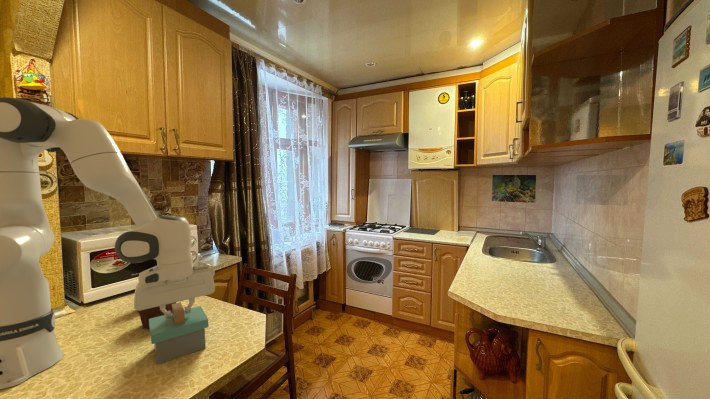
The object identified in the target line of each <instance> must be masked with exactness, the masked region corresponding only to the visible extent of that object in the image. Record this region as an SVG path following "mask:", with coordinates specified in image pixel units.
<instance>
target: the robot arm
mask: <svg viewBox="0 0 710 399" xmlns="http://www.w3.org/2000/svg"><path fill="white" fill-rule="evenodd" d="M45 151H47V152H49V153H55V152H58V151H63V153H64V154H65V156H66V158H67V160H68V162H69V164H70V166H71V168H72V169H73V170H72V171H73V172H74V174H75V175H76V177H77V178H78V179H79V181H80V182H81V183H82V184H83V185H84V186H85V187H86V188H87V189H89V190H92V191H95V192H97V193H101V194H104V195H107V196H109V197H111V198H113V199H115V200H116V201H118V202H120V203H121V204H122V206H124V208H125V210H126V212H128V215H129V216H130V217H131V220H132V221H133V223H134V224H135V226H136V228H132V229H131V230H128V231H125V232H123V233H121V234H120V235H119V236H118V237H117V239H116V240H115V242H114V251H115V252H114V253H115V254H116V256H117V257H118V258H119V259H120V261H123V262H125V263H127V264H139V263H143V262H147V261H150V260H155V261H156V264H157V265H155V266H153V267H150V268H148V269H145V270H143V271H141V272H140V273H139V275H138V277H137V280H138V283H137V284H136V286H135V290H134V299H133V309H134V310H136V312H137V311H141V310H145V309H149V308H153V307H158V306H159V307H160V310H161V311H162V312H163V313H164V315H165V319H169V318H171V312H170V311H166V309H165V308H166V304H170V303H175V302H176V303H179V302H182V301H186V300H188V301H189V302H188V304H187V305H186V306H184V310H185V314H188V313H191V308H193V306H194V304H195V300H196V298H199V297H200V298H201V297H203V296H204V297H205V296H208V295H212V294H214V292H215V291H216V285H215V281H214V280H215V279H214V277H215V275H216V274H215V273H216V272H215V267H214V266H213V265H210V264H204V265H196V266H194V264H193V263H194V262H193V260H194V259H193V255H192V252H191V251H192V250H191V248H192V245H193V244H192V243H193V242H192V232H191V226H190V223H189V221H188V219H187V218H186V217H184V216H180V215H173V214H172V215H171V214H167V215H166V214H165V215H160V216H159V215H158V214H157V212H156V210H155V208H154V206H153V205H152V203H151V201H150V199H149V198H148V196H147V195H146V193H145V191H144V190H143V188H142V187H141V185H140V184H139V182H138V181H137V180H136V177H135V176H134V175H133V173H132V171H131V170H130V167H129V166H128V164H127V162H126V160H125V158H124V155H123V153H122V152H121V150H120V148H119V146H118V144H117V142H116V141H115V140H114V138H113V137H112V136H111V134H110V132H109V131H108V130H107V128H106V127H105V126H104V125H103V124H102V123H100V122H99V121H97V120H94V119H89V118H79V117H78V116H76V115H75V114H72V113H70V112H67V111H64V110H62V109H59V108H56V107H53V106H51V105H48V104H42V103H37V102H32V101H29V100H26V99H23V98H18V97H0V390H4V389H8V388H12V387H14V386H17V385H20V384H22V383H23V382H25V381H27V380H29V378H31V377H34V376H35V375H37V374H39V373H41V372H43V371H45V370H47V369H49V368H51V367H52V366H54V365H55V364H57V363H58V362H60V360H61V359H63V357H64V352H63V351H62V348H61V347H60V345H59V343H58V340H57V337H56V332H55V329H56V317H55V316H56V315H55V311H54V309H53V308H52V304H51V291H50V283H49V280H48V279H46V277H45V275H44V272H43V271H42V270H43V269H42V267H41V265H40V258H42V257H43V256H45V255H46V254H47V253H49V251H50V250H51V248H52V247H53V246H54V243H55V238H56V236H55V234H54V233H55V232H54V231H52V229H51V224H50V221H49V218H48V215H47V212H46V209H45V206H44V203H43V196H42V195H43V194H42V186H41V175H40V167H39V158H40V157H39V156H40V155H41V153H43V152H45Z"/></svg>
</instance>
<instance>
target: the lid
mask: <svg viewBox="0 0 710 399" xmlns="http://www.w3.org/2000/svg"><path fill="white" fill-rule="evenodd" d="M149 328H150V330H149V334H150V342H151V345H154V343H158V342H161V341H164V340H168V339H171V338H174V337H178V336H181V335H184V334H188V333H191V332H194V331H198V330H201V329H204V328H205V329H208V328H209V318H208V317H207V315H206V313H205V311H204V309H203V308H202V306H201V305H198V306H195V307H191V313H188V314H185V308H184V307H183V304H182V301H179V302H176V303H175V304H172V313H171V318H169V319H165V315H163V316H159V317H155V318H151V319H149Z"/></svg>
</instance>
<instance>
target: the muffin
mask: <svg viewBox="0 0 710 399" xmlns="http://www.w3.org/2000/svg"><path fill="white" fill-rule="evenodd" d="M175 303H177V302H175ZM175 303H170V304H166V308H165V309H166V311H170V312H171V313H172V304H175ZM136 312H137V313H138V314H139V319H140V322H141V325H142V329H143V330H148V331H150V328H149V319H151V318H155V317H159V316H163V315H164V313H163V312H162V311H161V310H160V307H159V306H158V307H153V308H149V309H145V310H141V311H137V310H136Z"/></svg>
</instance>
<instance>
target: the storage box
mask: <svg viewBox="0 0 710 399" xmlns="http://www.w3.org/2000/svg"><path fill="white" fill-rule="evenodd" d="M153 346H154V354H155V361H156V365H161V364H162V363H166V362H169V361H172V360H175V359H177V358H180V357H184V356H186V355H189V354H192V353H195V352H197V351H200V350H203V349H206V348H207V346H206V328H204V329H201V330H198V331H194V332H191V333H188V334H184V335H181V336H178V337H174V338H171V339H168V340H164V341H161V342H158V343H154V344H153Z"/></svg>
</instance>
